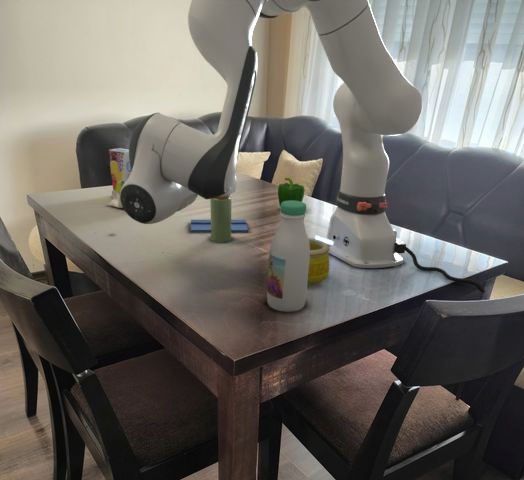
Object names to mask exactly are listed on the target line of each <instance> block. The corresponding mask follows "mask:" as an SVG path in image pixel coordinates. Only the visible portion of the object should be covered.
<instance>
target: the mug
mask: <svg viewBox="0 0 524 480" xmlns="http://www.w3.org/2000/svg"><path fill="white" fill-rule="evenodd" d="M308 239H309V243H310V260H309V271H308V282H307V286H313V285H318V284H320V283H323V282H324V281H326V280H327V278H328V277H329V273H330V253H329V252H328V251H329V246H328V245H327V244H326V243H325V242H323V241H320V240H317V239H315V238H312V237H308Z"/></svg>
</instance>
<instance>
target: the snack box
mask: <svg viewBox="0 0 524 480" xmlns="http://www.w3.org/2000/svg"><path fill="white" fill-rule="evenodd" d="M108 156H109V157H108V158H109V166H110V175H111V183H112V191H117V192H118V194H119V195H120V192H121V188H122V186H123V185H124V183H125V182H126V180H127V179H128V178H129V176H130V174H131V167H130V161H129V148H128V149H127V148H123V147H119V148H112V149H108Z"/></svg>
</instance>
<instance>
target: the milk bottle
mask: <svg viewBox="0 0 524 480" xmlns="http://www.w3.org/2000/svg"><path fill="white" fill-rule="evenodd" d="M279 209H280V210H279V211H280V213H279V215H280V221H279V224H278V227H277V229H276V231H275V233H274V235H273V236H272V239H271V242H270V247H269V257H268V273H267V288H266V289H267V292H266V293H267V294H266V302H267V305H268V306H269V307H270V308H272V309H273V310H275V311H278V312H279V311H280V312H286V313H287V312H289V313H291V312H297V311H299V310H302V309H303V308H304V307H305V305H306V300H307V290H308V285H307V282H308V271H309V260H310V243H309V239H308V238H309V236H308V233H307V231H306V226H305V218H306V213H307V204H306V203H305V202H303V201H302V202H300V201H293V200H290V201H284V202H282V203H281V206H280V205H279Z"/></svg>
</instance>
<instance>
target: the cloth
mask: <svg viewBox="0 0 524 480" xmlns="http://www.w3.org/2000/svg"><path fill="white" fill-rule="evenodd" d="M190 232H191V233H211V219H190ZM231 233H249V228H248V224H247V220H246V219H231Z"/></svg>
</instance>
